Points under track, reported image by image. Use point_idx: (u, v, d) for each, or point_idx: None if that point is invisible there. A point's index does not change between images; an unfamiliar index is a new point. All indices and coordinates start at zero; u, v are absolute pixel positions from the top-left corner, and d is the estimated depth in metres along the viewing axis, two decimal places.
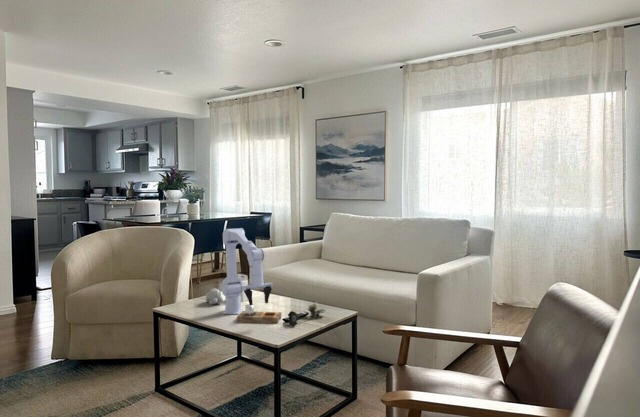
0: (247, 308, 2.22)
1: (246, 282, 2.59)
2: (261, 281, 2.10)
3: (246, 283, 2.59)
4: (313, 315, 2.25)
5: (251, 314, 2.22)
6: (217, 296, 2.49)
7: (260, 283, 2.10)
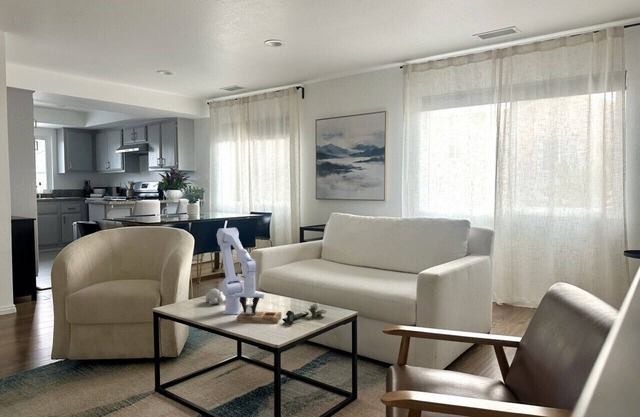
0: (247, 308, 2.22)
1: None
2: (250, 292, 2.20)
3: None
4: (313, 315, 2.25)
5: (251, 314, 2.22)
6: (217, 296, 2.49)
7: (249, 294, 2.20)
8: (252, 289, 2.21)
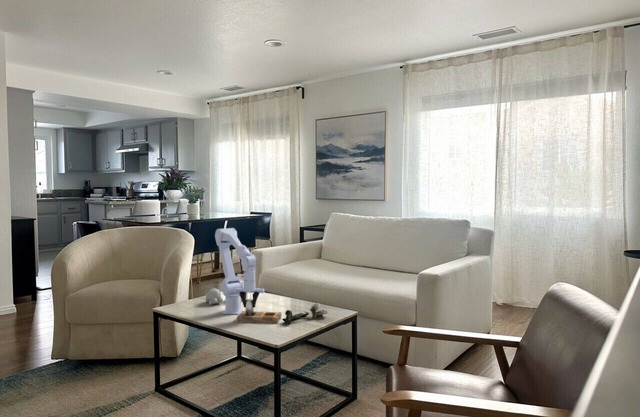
0: (247, 303, 2.21)
1: None
2: (250, 287, 2.20)
3: None
4: (313, 315, 2.24)
5: (251, 309, 2.22)
6: (217, 296, 2.49)
7: (248, 288, 2.20)
8: (252, 284, 2.21)
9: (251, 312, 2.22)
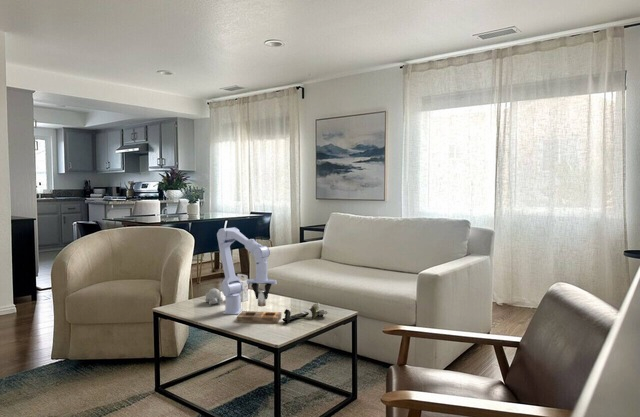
0: (259, 294, 2.21)
1: (246, 282, 2.59)
2: (262, 278, 2.19)
3: (246, 283, 2.59)
4: (312, 315, 2.24)
5: (263, 300, 2.21)
6: (217, 296, 2.49)
7: (261, 280, 2.19)
8: (264, 275, 2.20)
9: (263, 303, 2.21)
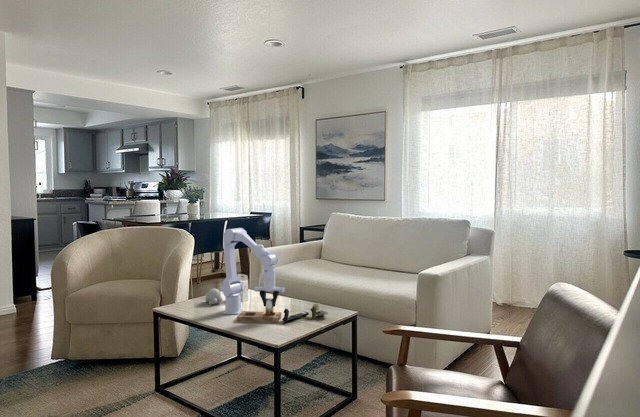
0: (267, 302, 2.20)
1: (246, 282, 2.59)
2: (270, 286, 2.19)
3: (246, 283, 2.59)
4: (312, 315, 2.24)
5: (271, 308, 2.21)
6: (216, 296, 2.49)
7: (269, 287, 2.19)
8: (272, 283, 2.20)
9: (271, 311, 2.21)
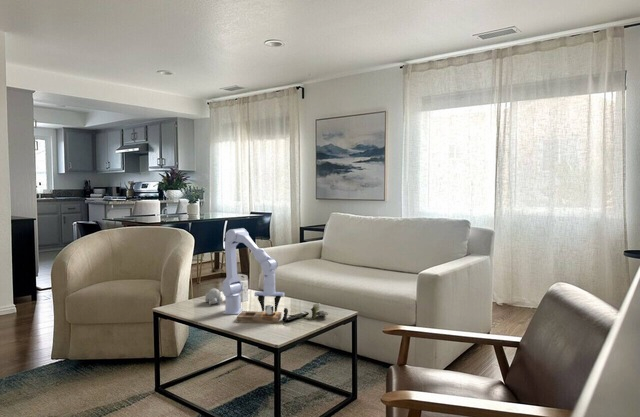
0: (267, 309, 2.21)
1: (246, 282, 2.59)
2: (270, 290, 2.19)
3: (246, 283, 2.59)
4: (312, 316, 2.24)
5: (271, 315, 2.21)
6: (216, 296, 2.49)
7: (269, 292, 2.19)
8: (272, 288, 2.20)
9: None
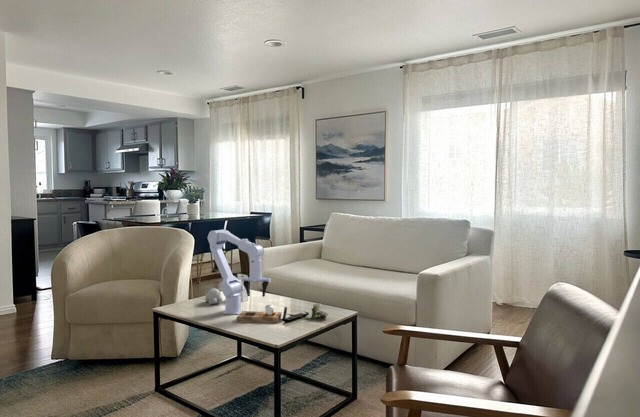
0: (267, 309, 2.21)
1: None
2: (256, 276, 2.25)
3: None
4: (312, 316, 2.24)
5: (271, 315, 2.21)
6: (216, 296, 2.50)
7: (255, 278, 2.25)
8: (258, 273, 2.25)
9: None
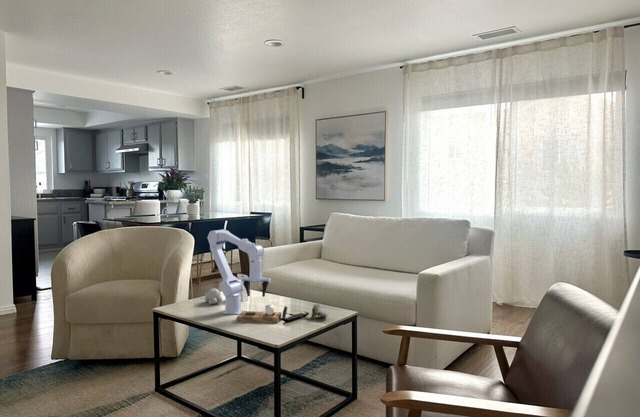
0: (267, 309, 2.21)
1: None
2: (256, 276, 2.25)
3: None
4: (312, 316, 2.24)
5: (271, 315, 2.21)
6: (216, 296, 2.50)
7: (255, 278, 2.25)
8: (258, 273, 2.25)
9: None
